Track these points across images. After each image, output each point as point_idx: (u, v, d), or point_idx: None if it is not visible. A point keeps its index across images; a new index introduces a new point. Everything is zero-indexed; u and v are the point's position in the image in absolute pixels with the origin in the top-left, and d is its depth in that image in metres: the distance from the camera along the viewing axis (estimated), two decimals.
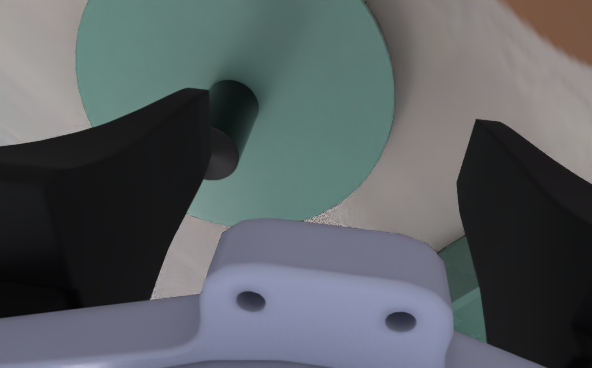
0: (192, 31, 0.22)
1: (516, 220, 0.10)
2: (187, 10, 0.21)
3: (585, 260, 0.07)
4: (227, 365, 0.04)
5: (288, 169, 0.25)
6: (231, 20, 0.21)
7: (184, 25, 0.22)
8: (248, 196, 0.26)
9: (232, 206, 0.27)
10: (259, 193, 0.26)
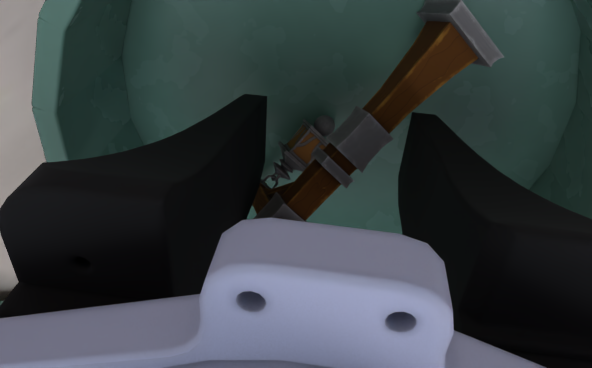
0: None
1: (433, 210, 0.10)
2: None
3: (470, 246, 0.07)
4: (227, 365, 0.04)
5: None
6: None
7: None
8: None
9: None
10: None
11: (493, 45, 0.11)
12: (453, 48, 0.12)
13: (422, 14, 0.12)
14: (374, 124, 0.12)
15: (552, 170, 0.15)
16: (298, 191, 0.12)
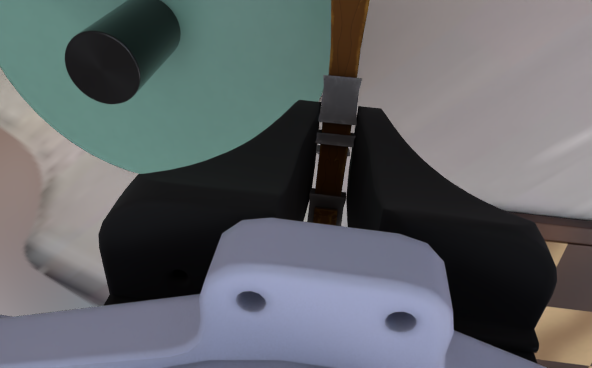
0: None
1: (363, 201, 0.10)
2: (60, 62, 0.22)
3: None
4: (227, 365, 0.04)
5: None
6: (56, 18, 0.20)
7: None
8: (278, 18, 0.19)
9: (298, 42, 0.20)
10: (271, 2, 0.19)
11: None
12: None
13: None
14: (336, 80, 0.12)
15: None
16: (317, 176, 0.13)
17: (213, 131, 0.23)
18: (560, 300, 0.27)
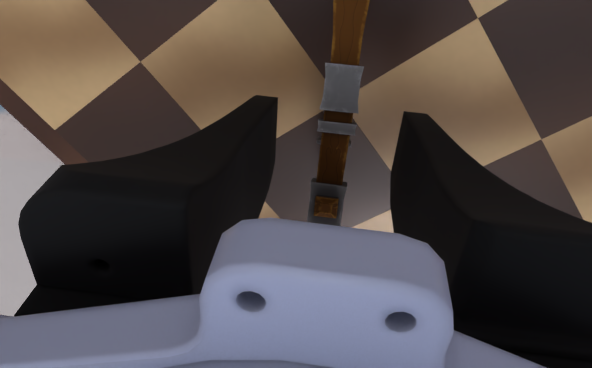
0: None
1: (422, 209, 0.10)
2: None
3: (455, 244, 0.07)
4: (227, 365, 0.04)
5: None
6: None
7: None
8: None
9: None
10: None
11: None
12: None
13: None
14: (338, 67, 0.12)
15: None
16: (318, 165, 0.13)
17: None
18: (511, 39, 0.14)
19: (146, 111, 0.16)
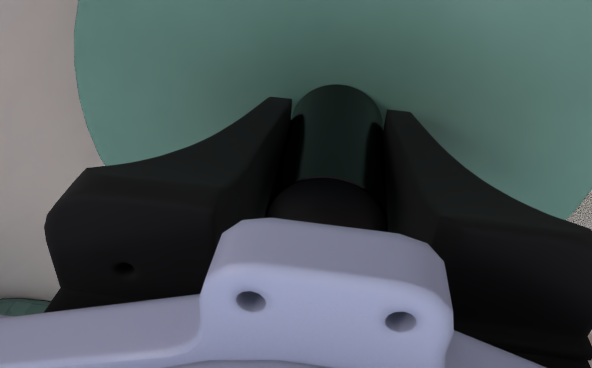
0: (472, 82, 0.13)
1: (400, 206, 0.10)
2: (509, 79, 0.13)
3: (425, 240, 0.07)
4: (227, 365, 0.04)
5: None
6: (479, 143, 0.14)
7: (485, 70, 0.13)
8: (157, 130, 0.15)
9: (126, 101, 0.14)
10: (168, 149, 0.15)
11: None
12: None
13: None
14: None
15: None
16: None
17: None
18: None
19: None
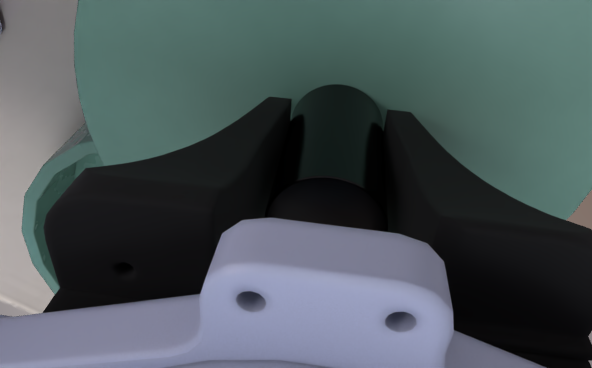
0: (472, 82, 0.13)
1: (401, 206, 0.10)
2: (509, 79, 0.13)
3: (426, 240, 0.07)
4: (227, 365, 0.04)
5: None
6: (479, 143, 0.14)
7: (485, 70, 0.13)
8: (157, 130, 0.15)
9: (126, 100, 0.14)
10: (168, 149, 0.15)
11: None
12: None
13: None
14: None
15: None
16: None
17: None
18: None
19: None
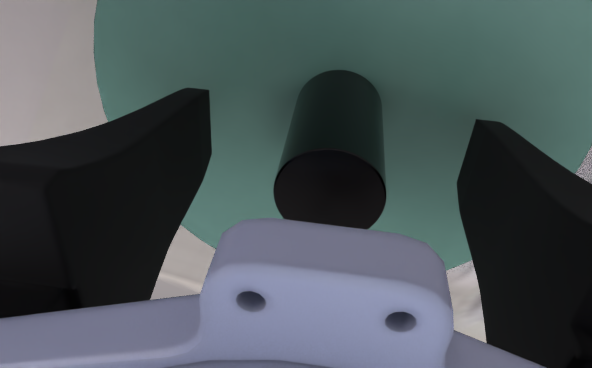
0: (465, 67, 0.14)
1: (516, 220, 0.10)
2: (499, 65, 0.14)
3: (585, 260, 0.07)
4: (227, 365, 0.04)
5: (233, 175, 0.17)
6: (472, 125, 0.15)
7: (477, 56, 0.14)
8: None
9: (141, 86, 0.15)
10: None
11: None
12: None
13: None
14: None
15: None
16: None
17: None
18: None
19: None
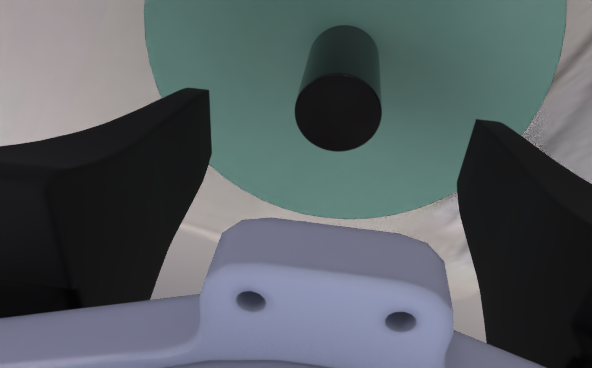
0: (445, 22, 0.17)
1: (516, 220, 0.10)
2: (472, 19, 0.17)
3: (585, 260, 0.07)
4: (227, 365, 0.04)
5: (255, 118, 0.20)
6: (452, 71, 0.18)
7: (454, 12, 0.17)
8: (204, 66, 0.19)
9: (182, 41, 0.19)
10: (212, 81, 0.19)
11: None
12: None
13: None
14: None
15: None
16: None
17: None
18: None
19: None
